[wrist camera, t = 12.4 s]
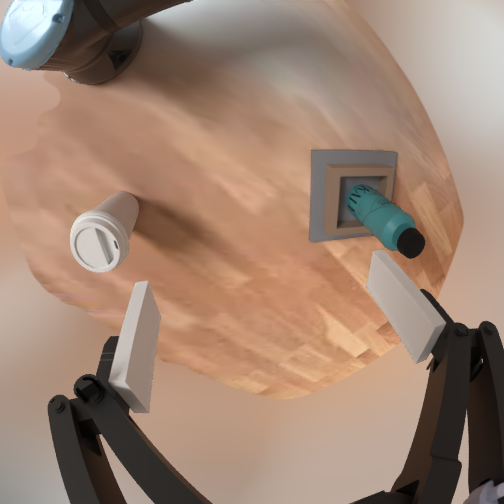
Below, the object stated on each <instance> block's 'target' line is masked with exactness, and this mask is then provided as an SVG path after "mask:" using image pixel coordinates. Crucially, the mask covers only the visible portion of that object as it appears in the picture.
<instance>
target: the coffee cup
mask: <svg viewBox="0 0 504 504" xmlns="http://www.w3.org/2000/svg"><path fill="white" fill-rule="evenodd" d="M138 214H139V204H138V201H137V200H136V198H135V197H134V196H133V195H132V194H130V193H128V192H124V191H120V192H116V193H114V194H113V195H111V196H110V197H109V198H107V199H106V200H105V201H103V202H102V203H101V204H99V205H98V206H97V207H95V208H94V209H93V210H92V211H88V212H85V213H83V214H81V215H80V216H79V217H78V218H77V219H76V220H75V222H74V224H73V226H72V229H71V235H70V245H71V250H72V253H73V255H74V257H75V259H76V260H77V261H78V262H79V263H80V264H81V265H82V266H83V267H84V268H86V269H88V270H90V271H93V272H98V273H102V272H107V271H110V270H113V269H115V268H117V267H118V266H120V265H121V264H122V263H123V262H124V261H125V259H126V257H127V255H128V252H129V239H130V236H131V234H132V231H133V228H134V225H135V222H136V220H137V217H138Z"/></svg>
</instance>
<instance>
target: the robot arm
mask: <svg viewBox="0 0 504 504" xmlns="http://www.w3.org/2000/svg"><path fill="white" fill-rule="evenodd" d="M191 1H193V0H13V1H12V3H11V5H10V6H9V8H8V9H7V11H6V13H5V17H4V19H3V21H2V23H1V26H0V55H1V57H2V59H3V60H4V62H5V63H6V64H8V65H10V66H12V67H15V68H22V69H25V70H28V71H30V70H50V71H62V72H63V74H64V75H65V76H66V77H67V78H69V79H70V80H72V81H74V82H76V83H80V84H99V83H103V82H106V81H108V80H110V79H112V78H114V77H115V76H117V75H118V74H120V73H121V72H122V71H123V70H124V69H126V68H127V66H128V65H129V64H130V63H131V62H132V60H133V59H134V57H135V56H136V54H137V52H138V50H139V47H140V44H141V40H142V27H141V23H140V21H139V20H141V19H143V18H146V17H148V16H150V15H153V14H155V13H158V12H160V11H163V10H165V9H168V8H171V7H173V6H176V5H179V4H182V3H185V2H191ZM366 288H367V289H368V291H369V292H370V294H371V295H372V297H373V298H374V299H375V301H376V302H377V304H378V305H379V307H380V308H381V310H382V311H383V313H384V314H385V316H386V317H387V319H388V320H389V322H390V323H391V325H392V327H393V328H394V330H395V331H396V333H397V334H398V336H399V338H400V339H401V341H402V342H403V344H404V345H405V347H406V349H407V350H408V352H409V354H410V355H411V357H412V359H413V360H414V362H415V363H416V364H417V363H419V362H422V361H424V360H426V359H427V358H428V356H429V354H430V353H432V354H433V356H434V357H433V359H432V360H431V362H430V363H429V365H428V367H427V370H428V369H429V368H430V373H429V378H428V384H427V389H426V393H425V398H424V402H423V407H422V411H421V414H420V418H419V422H418V426H417V429H416V432H415V436H414V439H413V442H412V445H411V448H410V451H409V454H408V458H407V460H406V463H405V465H404V468H403V471H402V473H401V474H400V475H399V477H398V478H397V479H396V481H395V483H394V485H393V487H392V489H391V491H390V492H385V491H381V492H379V493H376V494H373V495H371V496H368V497H366V498H363V499H360V500H358V501H355V502H353V503H350V504H451V501H452V499H453V496H454V493H455V490H456V486H457V483H458V479H459V476H460V472H461V468H462V464H461V462H460V461H459V460H458V454H459V450H460V445H461V440H462V435H463V430H464V423H465V417H466V410H467V416H468V434H469V469H468V485H469V494H470V495H469V497H468V499H466V500H465V502H464V503H463V504H504V349H503V345H502V342H501V339H500V336H499V333H498V330H497V328H496V326H495V325H494V324H492V323H491V322H488V321H483V322H482V323H481V324H480V325H479V328H478V329H477V328H476V329H468V328H467V327H466V326H465V325H464V324H462V323H454V322H453V320H452V319H451V318H450V317H449V315H448V314H447V313H446V312H445V310H444V309H443V308H442V307H441V306H440V304H439V303H438V302H437V301H436V299H435V298H434V297H433V296H432V295H431V294H430V293H429V292H427V291H426V290H424V289H420V290H419V289H418V287H417V286H416V285H415V284H414V283H413V282H412V281H411V279H410V278H409V277H408V276H407V275H406V274H405V273H404V271H403V270H402V269H401V268H400V267H399V266H398V265H397V264H396V263H395V262H394V260H393V259H392V258H391V257H390V256H389V255H388V254H387V253H386V252H385V251H384V250H377V251H373V254H372V260H371V265H370V270H369V275H368V280H367V285H366ZM160 320H161V315H160V312H159V310H158V307H157V304H156V302H155V299H154V296H153V293H152V290H151V287H150V284H149V281H142V282H136V283H135V286H134V289H133V292H132V296H131V299H130V302H129V305H128V309H127V312H126V315H125V319H124V322H123V326H122V329H121V333H120V336H111V337H110V338H109V339H108V340H107V342H106V343H105V345H104V348H103V351H102V355H101V358H100V360H101V361H100V362H99V366H98V369H97V373H96V376H95V375H92V374H86V375H83V376H81V377H80V378H79V379H78V380H77V381H76V383H75V384H74V393H75V395H76V396H77V397H78V398H75V399H71V400H69V399H68V398H67V397H65V396H64V395H56V396H54V397H53V398H52V399H51V400H50V401H49V404H48V416H49V422H50V428H51V433H52V439H53V443H54V448H55V452H56V457H57V461H58V464H59V468H60V472H61V476H62V479H63V482H64V485H65V489H66V491H67V495H68V497H69V500H70V503H71V504H127V503H126V501H125V499H124V497H123V494H122V492H121V490H120V488H119V486H118V484H117V481H116V479H115V477H114V474H113V472H112V470H111V467H110V464H109V462H108V459H107V456H106V454H105V451H104V448H103V445H102V442H101V439H100V436H99V434H102V435H103V437H104V438H105V440H106V441H107V443H108V444H109V446H110V447H111V449H112V450H113V452H114V453H115V455H116V456H117V457H118V459H119V460H120V462H121V463H122V464H123V466H124V467H125V468H126V470H127V471H128V472H129V474H130V475H131V476H132V477H133V479H134V480H135V481H136V482H137V484H138V485H139V486H140V487H141V488H142V489H143V491H144V492H145V493H146V494H147V496H148V497H149V498H150V499H151V500H152V501H153V502H154V503H155V504H212V503H211V502H210V501H209V500H207V499H206V498H205V497H204V496H203V495H202V494H201V493H199V491H197V490H196V489H195V488H194V487H193V486H192V485H191V484H190V483H189V482H188V481H187V480H186V479H185V478H184V477H183V476H182V475H181V474H180V473H179V472H178V471H177V470H176V469H175V468H174V467H173V466H172V465H171V464H170V463H169V462H168V461H167V460H166V459H165V458H164V456H163V455H162V454H161V453H160V452H159V451H158V450H157V448H156V447H155V446H154V445H153V444H152V443H151V441H150V440H149V439H148V438H147V437H146V436H145V434H144V433H143V432H142V431H141V429H140V428H139V427H138V426H137V424H136V423H135V422H134V420H133V419H132V418H131V416H130V415H129V408H131V409H132V411H133V412H134V413H149V409H150V397H151V388H152V379H153V370H154V362H155V354H156V347H157V340H158V333H159V326H160ZM482 359H483V363H482ZM430 366H431V367H430Z"/></svg>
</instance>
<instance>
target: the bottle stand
mask: <svg viewBox="0 0 504 504" xmlns="http://www.w3.org/2000/svg"><path fill="white" fill-rule="evenodd" d="M396 161H397V152H392V151H373V150H311V196H310V225H309V241H310V242H317V241H327V240H336V239H345V238H354V237H363V236H373V234H372V233H371V232H370V231H369V230H368V229H367V228H366V227H365V226H364V225H363V224H362V223H361V222H360V221H359V220H358V219H357V218H356V219H357V220H358V221H357V220H356V219H355V218H354V217H355V216H354V215H353V214H351V213H350V212H348V211H349V210H348V209H347V206H346V196H347V194H348V192H349V191H350V189H351V188H353V187H354V186H356V185H360V184H362V185H365V184H366V185H368V186H370V188H371V187H372V188H373V190H375V191H377V192H379V194H381V195H382V196H384V197H385V198H386V199H388V200H389V201H391V202H392V197H393V189H394V180H395V171H396Z"/></svg>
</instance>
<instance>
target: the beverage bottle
mask: <svg viewBox="0 0 504 504" xmlns="http://www.w3.org/2000/svg"><path fill="white" fill-rule="evenodd" d="M396 205H397V204H396ZM396 205H395V203H393V202H391V201H389V200H388V199H386V198H385V197H384V196H382V195H381V194H379V192H377V191H375V190H373V188H372V187H371V188H370V186H368V185H366V184H365V185H362V184H360V185H356V186H354V187H353V188H351V189H350V191H349V192H348V194H347V196H346V206H347V209H348V210H349V211H348V212H350V213H351V214H353V215H354V216H355V217H354V218H355V219H356V218H357V219H358V220H359V221H360V222H361V223H362V224H363V225H364V226H365V227H366V228H367V229H368V230H369V231H370V232H371V233H372V234H373V235H374V236H375V237H376V238H377V239H378V240H379V241H380V242H381V243H382V244H383V245H384V246H385V247H386V248H387V249H389V250H392V251H396V250H398V251H399V252H400V253H401V254H403V255H404V256H406V257H407V258H410V259H412V258H415V257H417V256H418V255H419V254H420V253H421V252H422V250H423V248H424V246H425V239H424V237H423V235H422V234H421V233H420V232H419V231H418V230H417V229H416V228H415V222H414V220H413V218H412V217H411V216H410V215H409V214H407V213H406V212H404V211H403V210H402V209H400V208H399V207H398V206H396ZM357 219H356V220H357ZM358 220H357V221H358Z"/></svg>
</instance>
